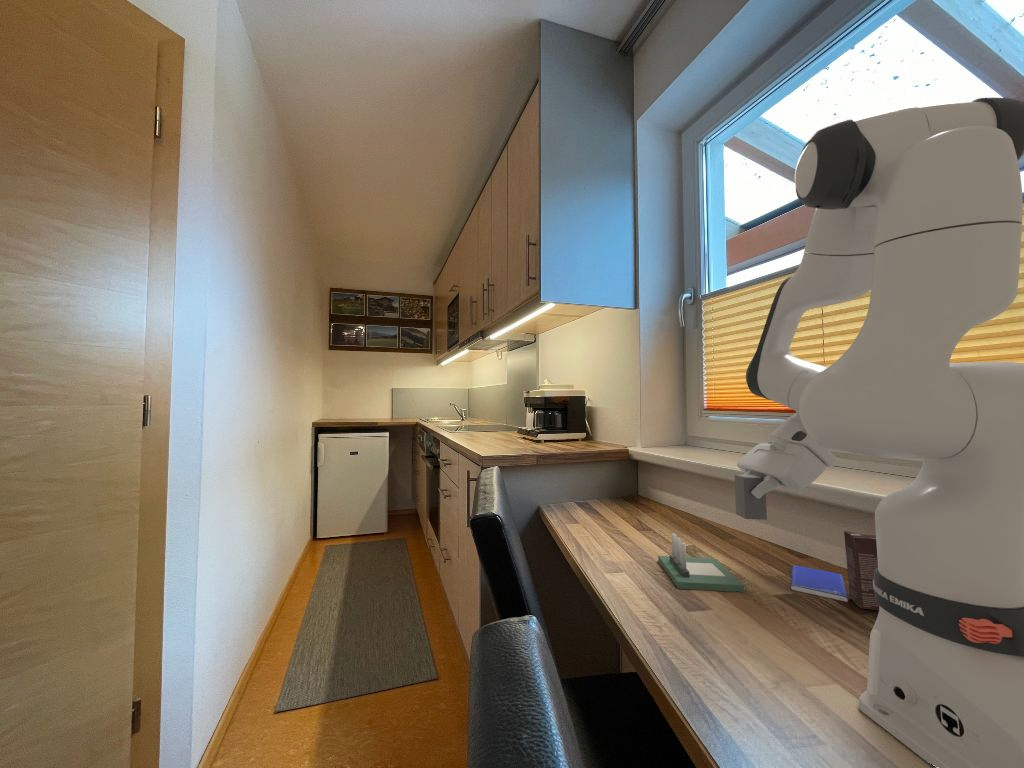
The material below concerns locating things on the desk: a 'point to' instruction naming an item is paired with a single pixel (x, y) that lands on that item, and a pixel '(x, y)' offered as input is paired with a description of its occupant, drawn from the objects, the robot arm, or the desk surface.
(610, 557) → the desk surface
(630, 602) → the desk surface
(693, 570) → the header board
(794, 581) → the hard drive
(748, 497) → the plug
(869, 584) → the box
